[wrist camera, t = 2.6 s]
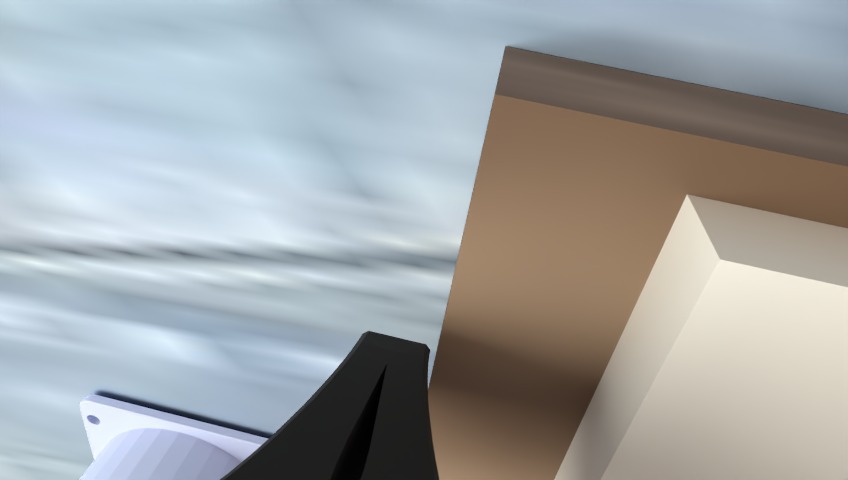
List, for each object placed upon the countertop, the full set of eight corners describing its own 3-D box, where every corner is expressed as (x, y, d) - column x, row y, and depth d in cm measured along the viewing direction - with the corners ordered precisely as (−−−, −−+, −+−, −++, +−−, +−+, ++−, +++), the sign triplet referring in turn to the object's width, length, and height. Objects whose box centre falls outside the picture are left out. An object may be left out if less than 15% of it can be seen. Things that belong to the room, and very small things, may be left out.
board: (790, 546, 19) (837, 667, 16) (414, 451, 19) (391, 549, 17) (1146, 174, 11) (1367, 274, 8) (505, 46, 12) (495, 94, 9)
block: (802, 592, 14) (838, 686, 13) (533, 523, 15) (532, 604, 13) (1128, 288, 9) (1267, 379, 7) (687, 194, 9) (720, 259, 8)
